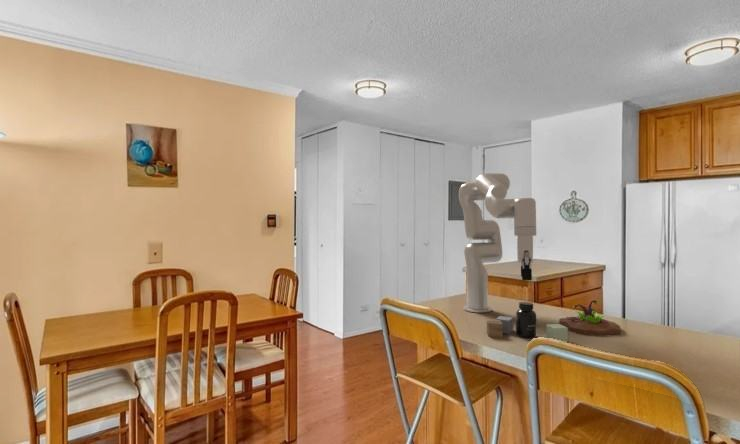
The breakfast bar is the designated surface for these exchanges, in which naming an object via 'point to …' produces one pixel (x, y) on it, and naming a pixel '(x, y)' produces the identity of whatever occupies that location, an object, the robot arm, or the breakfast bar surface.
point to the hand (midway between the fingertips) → (526, 278)
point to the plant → (590, 323)
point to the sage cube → (557, 332)
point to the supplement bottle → (526, 320)
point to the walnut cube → (494, 328)
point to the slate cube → (506, 324)
